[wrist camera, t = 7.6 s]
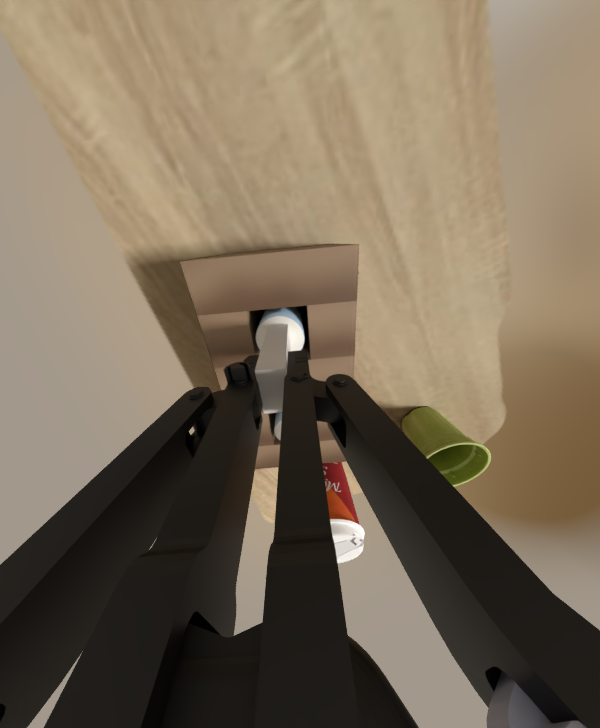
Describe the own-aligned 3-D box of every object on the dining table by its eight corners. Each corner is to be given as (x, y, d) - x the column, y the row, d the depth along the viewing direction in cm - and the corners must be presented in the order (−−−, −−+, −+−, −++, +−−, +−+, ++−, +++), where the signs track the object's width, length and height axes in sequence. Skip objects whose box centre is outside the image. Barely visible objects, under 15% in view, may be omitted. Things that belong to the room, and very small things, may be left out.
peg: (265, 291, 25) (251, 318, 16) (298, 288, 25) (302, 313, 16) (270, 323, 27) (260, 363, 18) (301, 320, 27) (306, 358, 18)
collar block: (222, 254, 23) (179, 261, 15) (333, 243, 23) (359, 244, 14) (258, 411, 34) (246, 469, 25) (335, 404, 34) (349, 461, 25)
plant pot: (445, 434, 38) (483, 482, 30) (391, 444, 39) (415, 493, 31) (451, 392, 33) (498, 436, 26) (390, 404, 34) (417, 450, 27)
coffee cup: (325, 421, 35) (344, 525, 22) (350, 448, 39) (380, 552, 26) (285, 443, 38) (281, 550, 25) (312, 467, 41) (321, 572, 28)
